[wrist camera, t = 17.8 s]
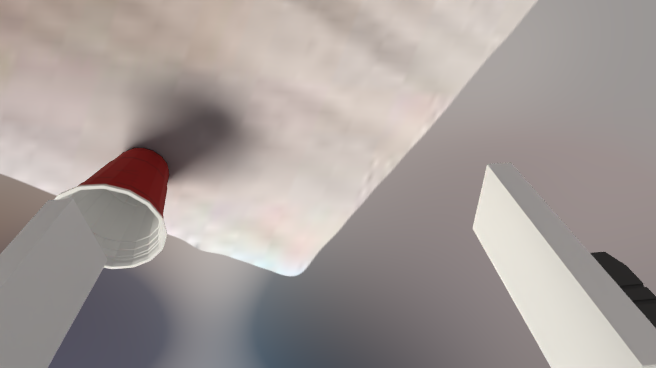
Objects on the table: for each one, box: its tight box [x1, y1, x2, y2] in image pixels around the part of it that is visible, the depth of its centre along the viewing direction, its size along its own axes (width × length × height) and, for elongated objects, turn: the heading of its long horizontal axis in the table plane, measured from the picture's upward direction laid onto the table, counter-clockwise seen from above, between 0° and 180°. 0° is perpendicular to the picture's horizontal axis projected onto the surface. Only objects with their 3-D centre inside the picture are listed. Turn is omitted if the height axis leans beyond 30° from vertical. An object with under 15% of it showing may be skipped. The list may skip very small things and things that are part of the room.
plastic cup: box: [54, 148, 169, 269], centre depth 41 cm, size 11×11×12 cm
